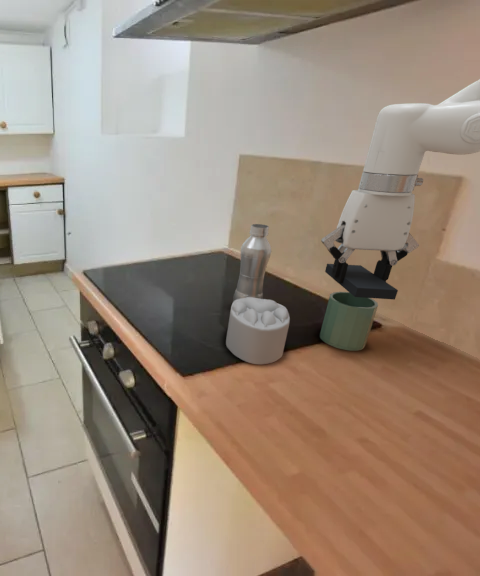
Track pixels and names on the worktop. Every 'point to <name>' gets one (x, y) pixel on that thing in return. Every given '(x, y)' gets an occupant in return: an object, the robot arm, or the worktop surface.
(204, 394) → the worktop surface
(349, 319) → the cup
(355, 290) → the dark blue flat block
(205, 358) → the worktop surface
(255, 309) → the lumpy-topped squat cylinder
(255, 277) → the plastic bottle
